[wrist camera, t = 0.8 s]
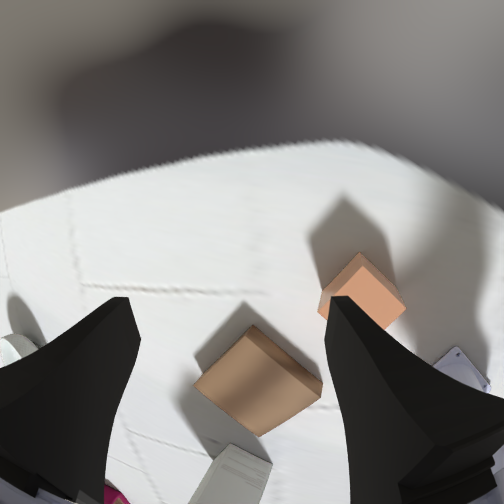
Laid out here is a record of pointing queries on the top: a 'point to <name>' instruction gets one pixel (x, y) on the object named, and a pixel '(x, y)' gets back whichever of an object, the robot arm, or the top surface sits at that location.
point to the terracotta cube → (365, 292)
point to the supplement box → (233, 479)
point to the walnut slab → (259, 383)
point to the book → (113, 496)
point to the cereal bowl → (15, 348)
